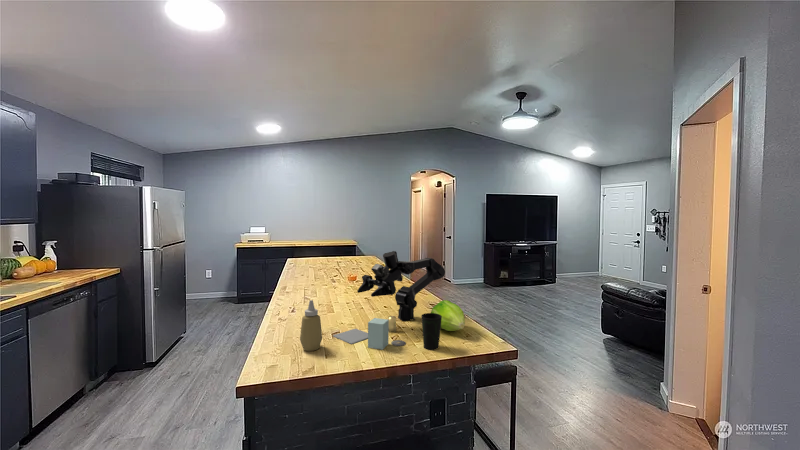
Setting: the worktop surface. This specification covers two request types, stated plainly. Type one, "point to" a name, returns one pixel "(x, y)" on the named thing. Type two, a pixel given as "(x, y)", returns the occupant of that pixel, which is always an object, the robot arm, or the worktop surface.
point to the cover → (378, 333)
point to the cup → (431, 330)
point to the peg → (392, 323)
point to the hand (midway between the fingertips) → (364, 293)
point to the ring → (398, 343)
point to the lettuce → (449, 315)
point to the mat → (352, 336)
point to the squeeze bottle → (311, 329)
